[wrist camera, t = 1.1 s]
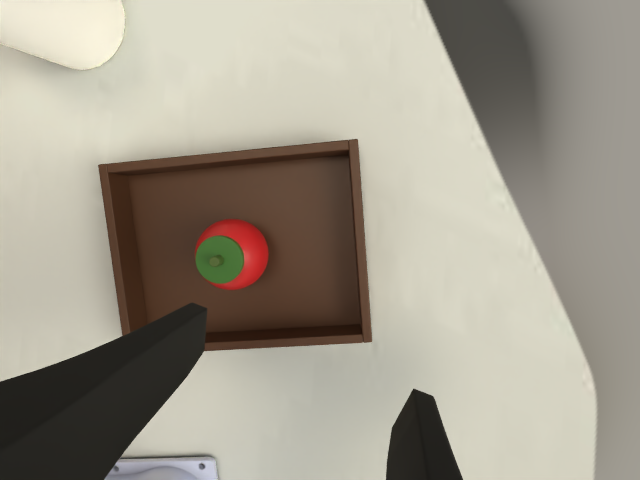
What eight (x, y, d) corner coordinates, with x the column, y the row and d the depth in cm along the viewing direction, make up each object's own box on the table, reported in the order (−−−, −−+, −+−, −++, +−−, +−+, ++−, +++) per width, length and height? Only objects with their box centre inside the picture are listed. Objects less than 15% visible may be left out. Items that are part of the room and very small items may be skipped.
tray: (145, 342, 25) (125, 355, 22) (121, 168, 24) (97, 164, 21) (369, 329, 24) (372, 342, 21) (356, 145, 22) (357, 138, 20)
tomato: (216, 282, 24) (179, 305, 18) (209, 220, 23) (168, 223, 18) (278, 278, 23) (258, 299, 18) (272, 215, 23) (250, 217, 17)
